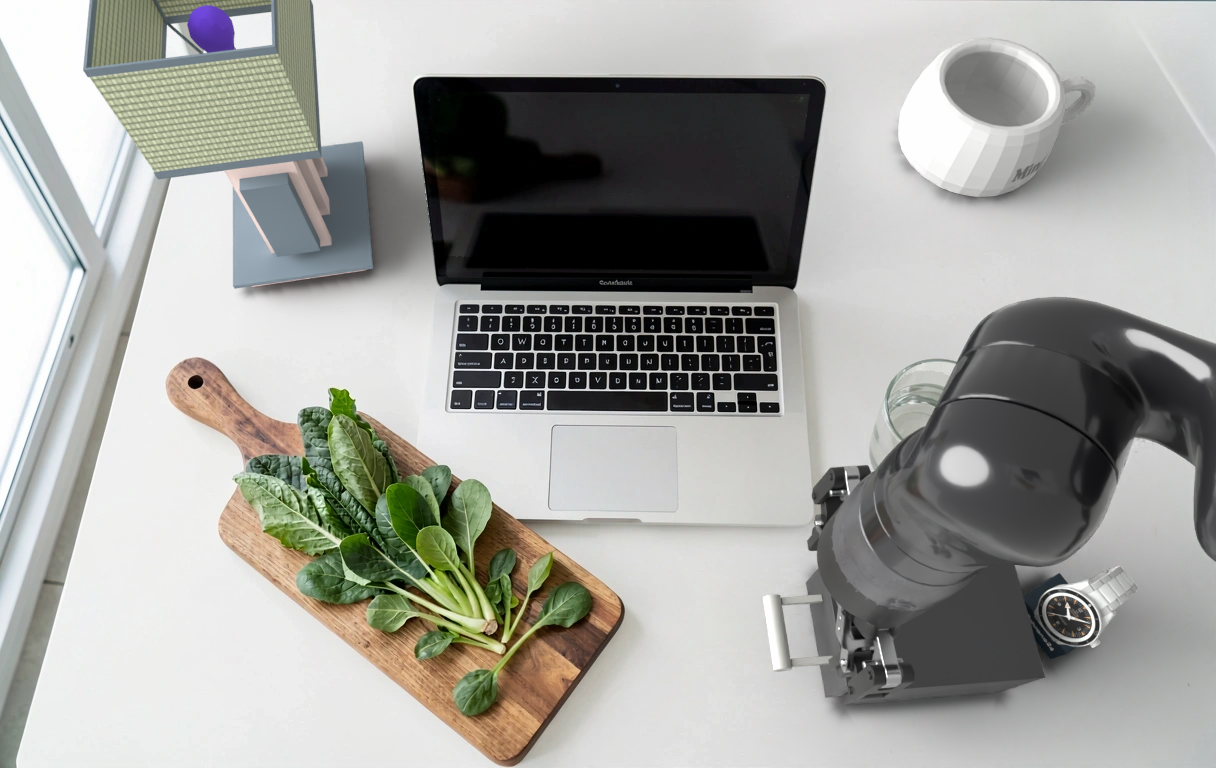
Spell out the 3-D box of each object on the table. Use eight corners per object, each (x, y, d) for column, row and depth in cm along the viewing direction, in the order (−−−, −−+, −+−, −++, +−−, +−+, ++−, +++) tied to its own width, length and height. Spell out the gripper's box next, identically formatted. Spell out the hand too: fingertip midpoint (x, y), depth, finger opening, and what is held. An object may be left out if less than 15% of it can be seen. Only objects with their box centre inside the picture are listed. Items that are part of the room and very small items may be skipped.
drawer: (767, 702, 77) (783, 691, 70) (751, 586, 81) (764, 565, 74) (969, 686, 77) (1003, 674, 71) (942, 572, 82) (972, 550, 75)
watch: (991, 616, 81) (1046, 588, 71) (1058, 571, 83) (1120, 538, 73) (1034, 672, 79) (1096, 651, 69) (1101, 625, 81) (1172, 598, 71)
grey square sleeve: (843, 704, 77) (872, 691, 69) (820, 576, 82) (845, 550, 74) (998, 692, 78) (1045, 677, 70) (967, 565, 83) (1007, 538, 75)
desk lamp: (378, 285, 95) (279, 46, 66) (241, 305, 94) (78, 70, 65) (366, 150, 103) (273, -117, 74) (240, 167, 102) (95, -98, 72)
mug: (921, 217, 100) (954, 157, 91) (872, 103, 107) (897, 37, 98) (1100, 186, 102) (1149, 124, 93) (1040, 76, 109) (1080, 10, 100)
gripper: (1000, 668, 47) (904, 703, 62) (936, 420, 53) (863, 504, 68) (859, 680, 47) (796, 712, 62) (812, 428, 53) (765, 511, 68)
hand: (831, 603), depth 65 cm, fingers open, 8 cm apart
